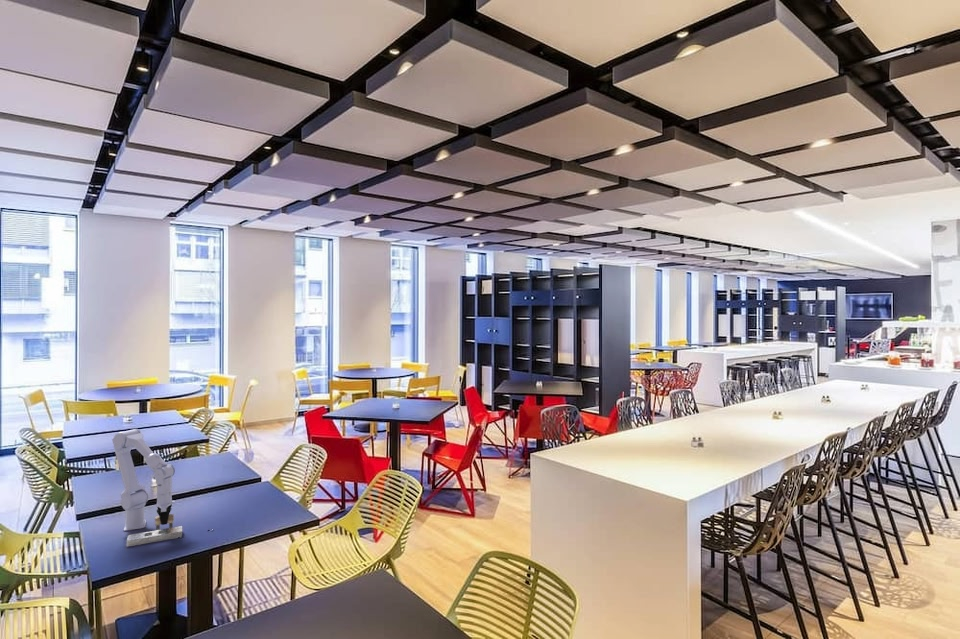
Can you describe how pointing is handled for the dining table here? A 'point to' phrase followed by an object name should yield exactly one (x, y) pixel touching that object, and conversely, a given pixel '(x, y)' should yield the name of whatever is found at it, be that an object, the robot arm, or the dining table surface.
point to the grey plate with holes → (154, 536)
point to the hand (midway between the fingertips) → (164, 523)
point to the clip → (170, 521)
